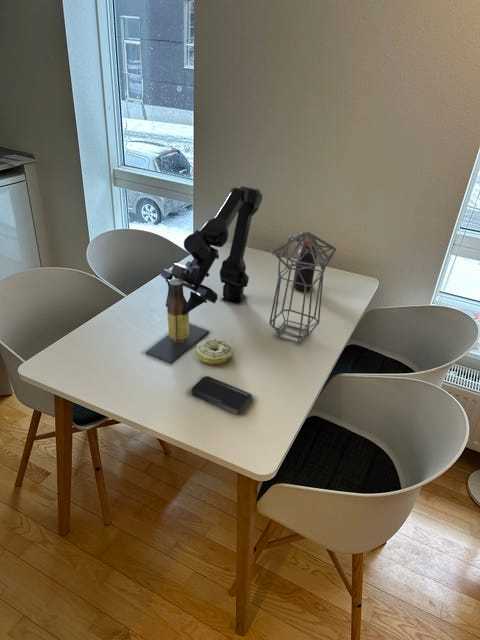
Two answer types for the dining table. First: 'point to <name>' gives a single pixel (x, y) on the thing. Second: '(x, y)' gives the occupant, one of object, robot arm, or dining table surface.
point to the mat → (176, 345)
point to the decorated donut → (214, 351)
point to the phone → (221, 394)
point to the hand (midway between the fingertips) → (174, 310)
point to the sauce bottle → (177, 313)
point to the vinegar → (305, 273)
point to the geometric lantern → (315, 244)
